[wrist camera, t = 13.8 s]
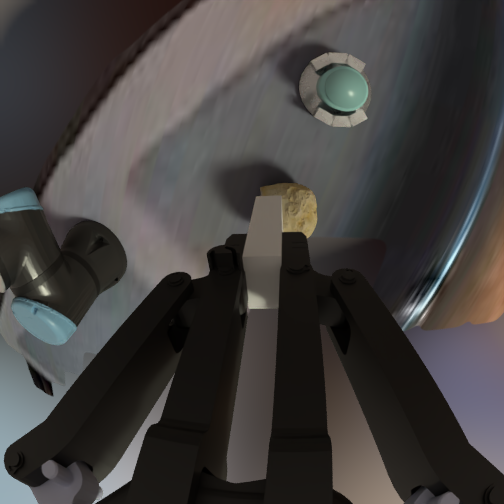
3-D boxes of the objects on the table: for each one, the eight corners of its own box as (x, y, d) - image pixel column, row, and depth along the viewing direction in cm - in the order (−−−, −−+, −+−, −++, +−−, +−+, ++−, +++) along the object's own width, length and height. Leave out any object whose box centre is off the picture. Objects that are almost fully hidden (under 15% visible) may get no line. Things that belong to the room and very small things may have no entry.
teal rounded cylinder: (317, 108, 35) (323, 110, 30) (314, 68, 32) (320, 64, 27) (357, 110, 35) (369, 113, 30) (356, 71, 32) (368, 68, 26)
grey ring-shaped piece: (301, 123, 37) (303, 126, 34) (296, 55, 32) (297, 51, 29) (370, 125, 36) (378, 128, 33) (368, 58, 31) (375, 56, 28)
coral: (231, 189, 37) (303, 196, 32) (266, 174, 45) (326, 179, 40) (237, 254, 41) (302, 268, 37) (268, 228, 49) (324, 237, 44)
